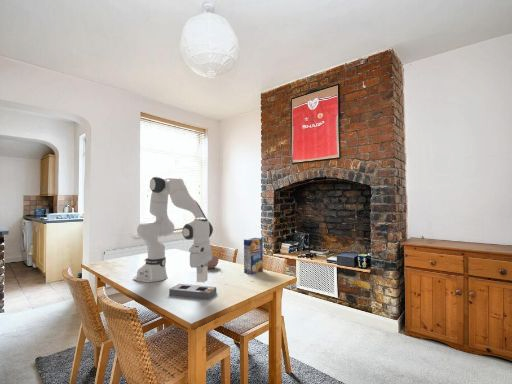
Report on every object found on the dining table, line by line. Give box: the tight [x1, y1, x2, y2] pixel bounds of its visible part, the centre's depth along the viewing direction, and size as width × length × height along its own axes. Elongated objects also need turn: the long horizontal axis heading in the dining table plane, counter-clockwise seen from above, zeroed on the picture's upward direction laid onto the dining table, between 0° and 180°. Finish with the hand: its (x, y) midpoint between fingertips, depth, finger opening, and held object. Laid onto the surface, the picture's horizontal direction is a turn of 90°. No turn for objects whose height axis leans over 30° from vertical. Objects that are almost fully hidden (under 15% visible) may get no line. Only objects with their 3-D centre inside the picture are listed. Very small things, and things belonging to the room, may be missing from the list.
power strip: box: [168, 283, 217, 300], centre depth 154 cm, size 24×10×5 cm, turn 74°
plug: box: [196, 265, 209, 284], centre depth 153 cm, size 4×4×10 cm
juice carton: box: [243, 237, 264, 275], centre depth 202 cm, size 12×8×24 cm, turn 135°
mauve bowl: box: [207, 255, 220, 269], centre depth 213 cm, size 12×12×12 cm
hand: (202, 271), depth 153 cm, fingers closed on plug, 4 cm apart
